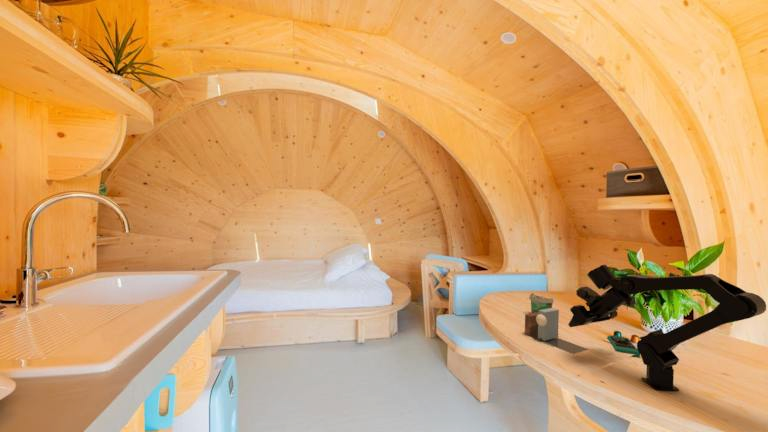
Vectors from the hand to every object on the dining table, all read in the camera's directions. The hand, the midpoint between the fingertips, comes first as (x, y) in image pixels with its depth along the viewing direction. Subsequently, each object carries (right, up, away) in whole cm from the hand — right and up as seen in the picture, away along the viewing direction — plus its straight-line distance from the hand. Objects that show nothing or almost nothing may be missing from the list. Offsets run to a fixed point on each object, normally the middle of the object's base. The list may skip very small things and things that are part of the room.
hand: (577, 324), depth 123 cm
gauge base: (-5, -10, +8) cm, 14 cm away
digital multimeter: (+20, -11, +5) cm, 23 cm away
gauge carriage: (-7, -9, +11) cm, 15 cm away
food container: (+5, -10, +42) cm, 44 cm away
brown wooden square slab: (-9, -10, +16) cm, 21 cm away
